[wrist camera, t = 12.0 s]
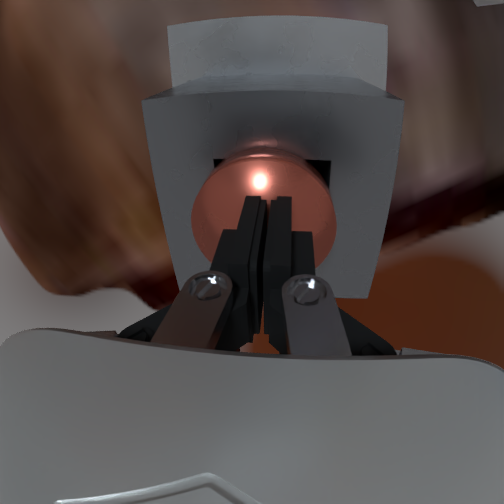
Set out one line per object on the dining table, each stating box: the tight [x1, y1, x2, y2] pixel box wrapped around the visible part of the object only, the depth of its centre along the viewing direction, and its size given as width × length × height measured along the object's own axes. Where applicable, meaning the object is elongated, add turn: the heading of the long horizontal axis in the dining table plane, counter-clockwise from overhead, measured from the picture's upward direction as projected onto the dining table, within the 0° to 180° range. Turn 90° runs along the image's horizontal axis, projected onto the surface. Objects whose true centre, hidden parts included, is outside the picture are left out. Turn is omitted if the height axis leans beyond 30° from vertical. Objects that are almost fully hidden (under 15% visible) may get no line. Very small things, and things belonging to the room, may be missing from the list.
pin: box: [191, 147, 337, 269], centre depth 16 cm, size 6×6×10 cm
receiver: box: [142, 16, 404, 298], centre depth 17 cm, size 18×14×10 cm
